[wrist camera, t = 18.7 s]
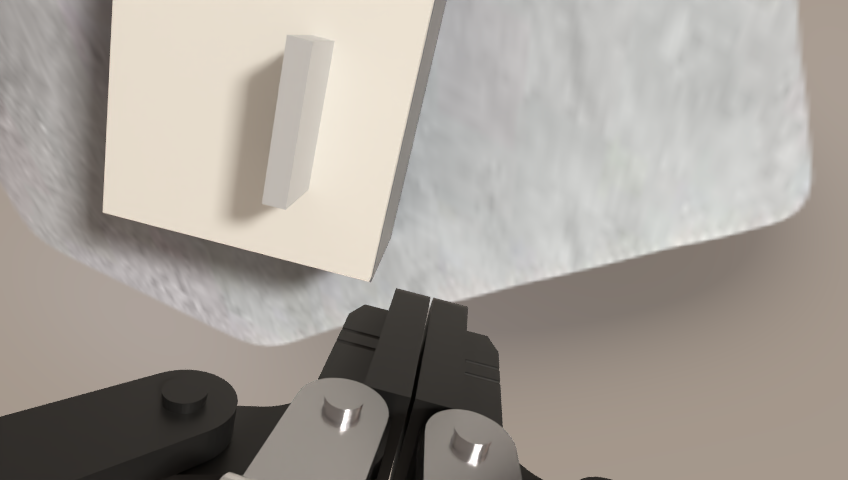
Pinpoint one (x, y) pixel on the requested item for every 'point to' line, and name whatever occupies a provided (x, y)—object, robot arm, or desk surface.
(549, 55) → the desk surface
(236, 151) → the lid
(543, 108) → the desk surface
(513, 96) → the desk surface
